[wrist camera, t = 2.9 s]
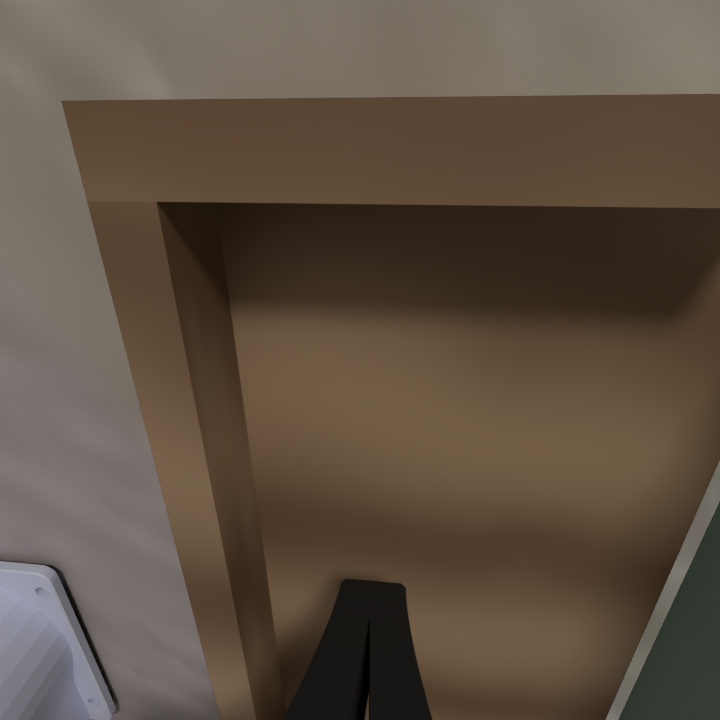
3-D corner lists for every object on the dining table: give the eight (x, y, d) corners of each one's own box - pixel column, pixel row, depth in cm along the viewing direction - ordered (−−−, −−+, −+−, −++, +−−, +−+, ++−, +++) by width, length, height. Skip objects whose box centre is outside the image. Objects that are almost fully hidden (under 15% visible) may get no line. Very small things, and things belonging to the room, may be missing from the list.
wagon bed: (561, 712, 17) (600, 863, 14) (277, 680, 18) (245, 813, 15) (776, 109, 8) (1054, 90, 5) (196, 113, 9) (61, 100, 6)
